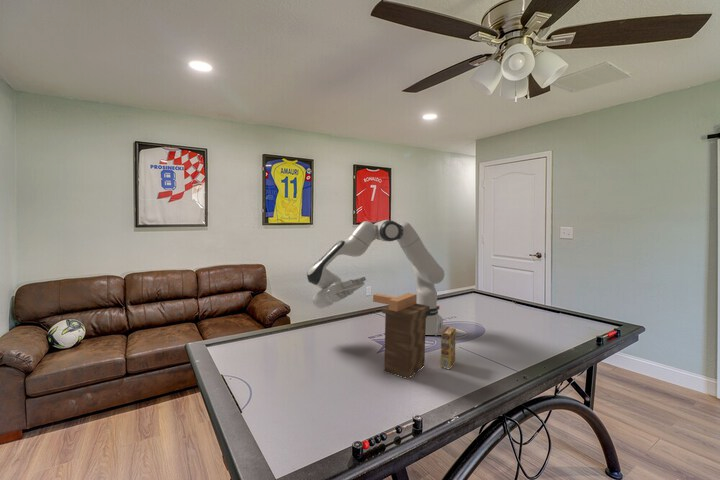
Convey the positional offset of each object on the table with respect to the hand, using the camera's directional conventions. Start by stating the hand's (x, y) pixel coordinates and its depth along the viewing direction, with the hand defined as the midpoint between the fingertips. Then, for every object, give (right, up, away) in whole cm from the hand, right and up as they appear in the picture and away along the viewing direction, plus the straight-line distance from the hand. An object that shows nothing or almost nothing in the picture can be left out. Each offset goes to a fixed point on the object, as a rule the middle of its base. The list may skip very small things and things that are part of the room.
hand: (358, 279), depth 151 cm
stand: (+19, -35, -12) cm, 42 cm away
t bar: (+14, -9, -10) cm, 19 cm away
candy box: (+38, -36, -8) cm, 53 cm away
